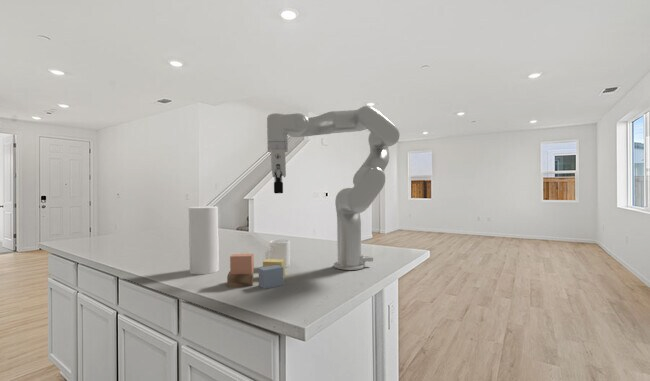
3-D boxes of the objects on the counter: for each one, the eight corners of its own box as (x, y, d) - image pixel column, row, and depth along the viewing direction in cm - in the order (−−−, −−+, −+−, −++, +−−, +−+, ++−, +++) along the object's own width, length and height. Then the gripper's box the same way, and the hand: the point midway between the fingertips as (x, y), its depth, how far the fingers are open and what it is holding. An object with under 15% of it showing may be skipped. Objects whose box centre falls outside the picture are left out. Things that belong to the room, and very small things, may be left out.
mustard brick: (285, 276, 119) (285, 259, 119) (281, 279, 115) (281, 262, 115) (267, 275, 121) (266, 259, 120) (263, 278, 117) (262, 261, 117)
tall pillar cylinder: (218, 266, 134) (217, 205, 134) (219, 272, 124) (217, 207, 124) (190, 268, 131) (189, 206, 131) (188, 275, 121) (187, 208, 121)
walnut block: (253, 281, 114) (253, 269, 114) (252, 286, 108) (252, 274, 108) (229, 282, 113) (229, 271, 112) (227, 288, 107) (227, 275, 107)
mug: (273, 272, 125) (272, 245, 124) (258, 269, 130) (258, 243, 129) (294, 265, 134) (294, 240, 134) (279, 263, 139) (279, 238, 139)
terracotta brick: (253, 270, 112) (253, 253, 112) (251, 274, 108) (251, 256, 108) (233, 271, 112) (232, 254, 112) (230, 274, 108) (230, 256, 108)
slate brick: (278, 282, 112) (277, 264, 111) (283, 285, 108) (283, 267, 108) (258, 286, 108) (258, 267, 108) (263, 289, 104) (263, 270, 104)
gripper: (288, 144, 114) (289, 193, 115) (286, 150, 132) (287, 192, 132) (266, 144, 113) (267, 193, 114) (267, 150, 130) (268, 192, 131)
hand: (278, 193), depth 123 cm, fingers open, 9 cm apart
